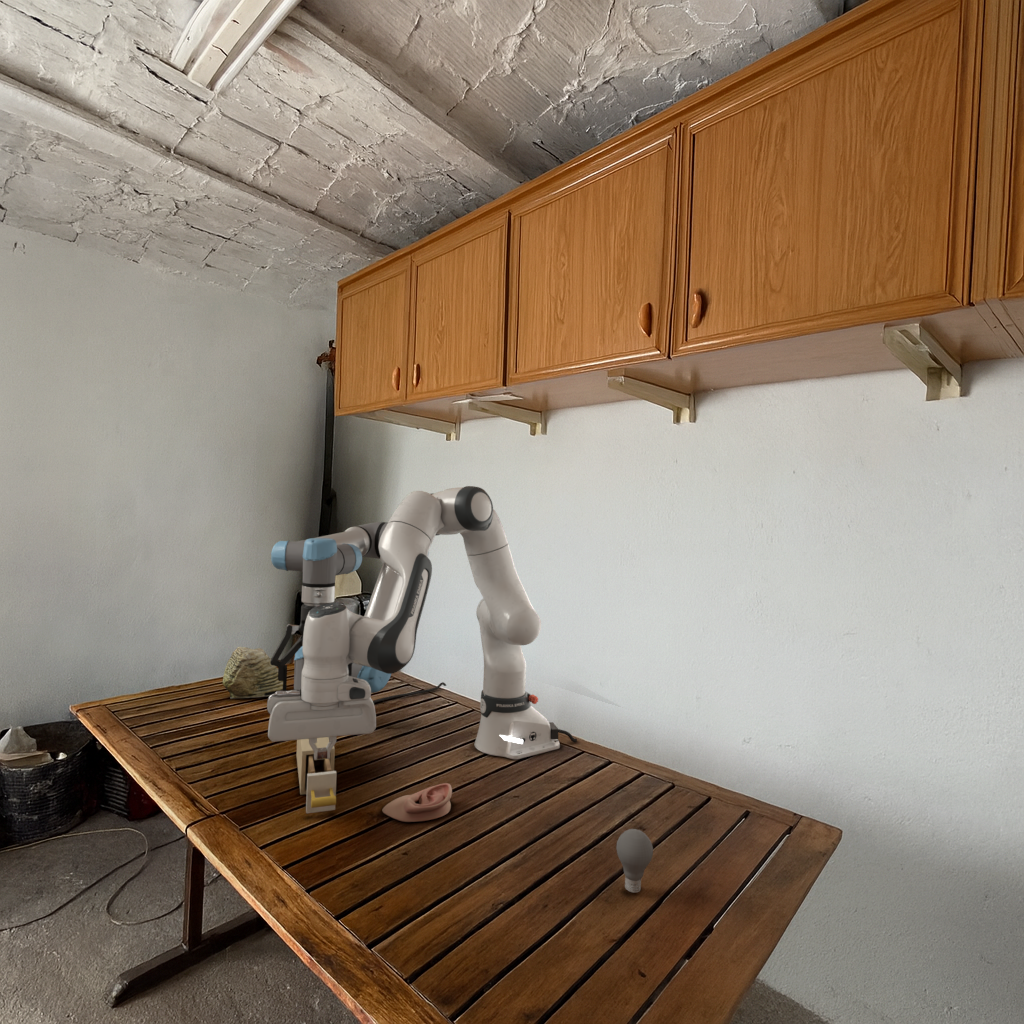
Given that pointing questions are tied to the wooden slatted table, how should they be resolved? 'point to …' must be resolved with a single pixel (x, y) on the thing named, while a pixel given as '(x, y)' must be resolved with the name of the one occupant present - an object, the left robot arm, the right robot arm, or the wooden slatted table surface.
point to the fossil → (251, 674)
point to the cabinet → (302, 751)
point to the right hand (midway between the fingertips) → (321, 758)
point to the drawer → (320, 785)
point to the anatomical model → (421, 804)
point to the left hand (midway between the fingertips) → (314, 692)
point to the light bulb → (634, 857)
